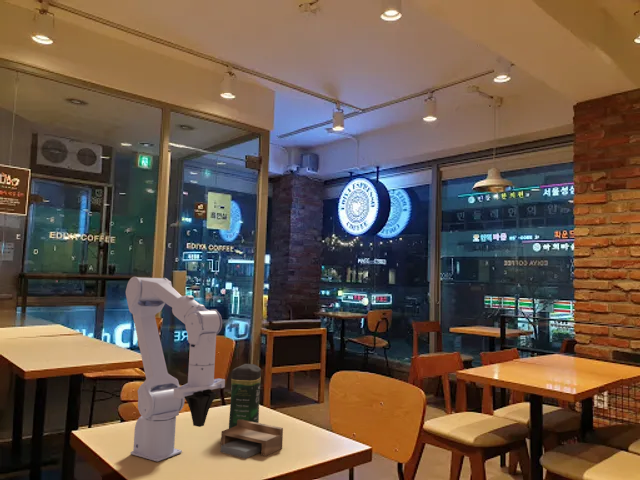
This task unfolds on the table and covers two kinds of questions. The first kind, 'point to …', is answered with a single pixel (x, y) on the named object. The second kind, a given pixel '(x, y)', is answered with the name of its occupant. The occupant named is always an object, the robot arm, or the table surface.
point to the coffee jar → (245, 394)
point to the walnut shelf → (255, 435)
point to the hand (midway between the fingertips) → (198, 425)
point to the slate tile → (241, 448)
